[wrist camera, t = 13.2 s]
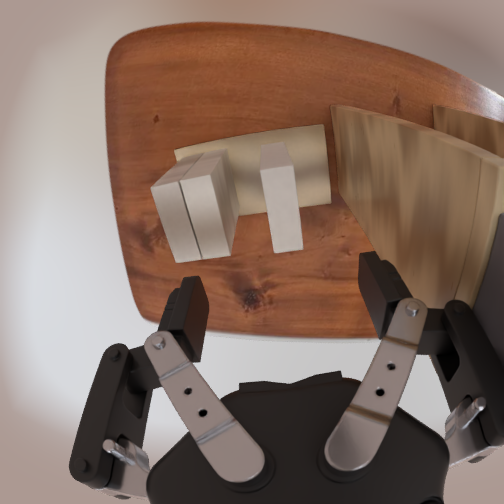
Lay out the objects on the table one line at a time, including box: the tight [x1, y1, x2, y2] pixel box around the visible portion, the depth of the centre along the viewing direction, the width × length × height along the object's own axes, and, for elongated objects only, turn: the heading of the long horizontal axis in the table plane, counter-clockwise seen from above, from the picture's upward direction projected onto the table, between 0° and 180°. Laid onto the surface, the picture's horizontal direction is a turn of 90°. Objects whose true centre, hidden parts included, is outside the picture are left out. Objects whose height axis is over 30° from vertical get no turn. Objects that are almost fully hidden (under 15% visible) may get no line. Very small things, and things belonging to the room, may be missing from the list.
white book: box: [260, 142, 303, 253], centre depth 26 cm, size 7×2×10 cm, turn 10°
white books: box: [151, 124, 331, 263], centre depth 26 cm, size 9×16×10 cm, turn 100°
